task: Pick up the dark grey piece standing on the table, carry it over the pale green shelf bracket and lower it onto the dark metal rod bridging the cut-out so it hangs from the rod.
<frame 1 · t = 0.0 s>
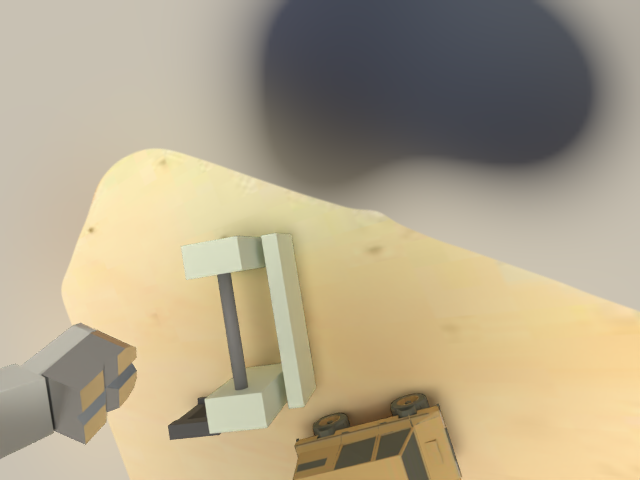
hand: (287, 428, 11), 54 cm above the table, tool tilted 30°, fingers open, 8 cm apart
toy car: (378, 438, 64), on the table
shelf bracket: (260, 316, 67), on the table
dark grey piece: (221, 405, 68), on the table
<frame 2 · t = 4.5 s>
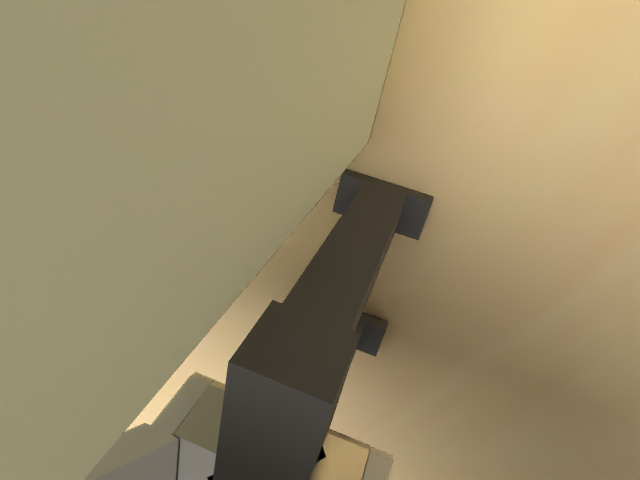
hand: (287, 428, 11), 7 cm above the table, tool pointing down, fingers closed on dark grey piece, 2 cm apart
dark grey piece: (363, 266, 17), on the table, touching gripper
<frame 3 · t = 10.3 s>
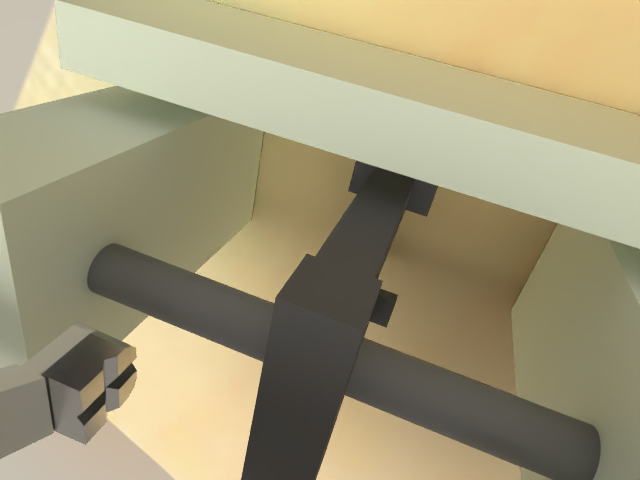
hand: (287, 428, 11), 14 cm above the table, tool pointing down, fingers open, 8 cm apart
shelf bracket: (393, 203, 22), on the table
dark grey piece: (375, 242, 18), point 4 cm above the table, touching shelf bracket
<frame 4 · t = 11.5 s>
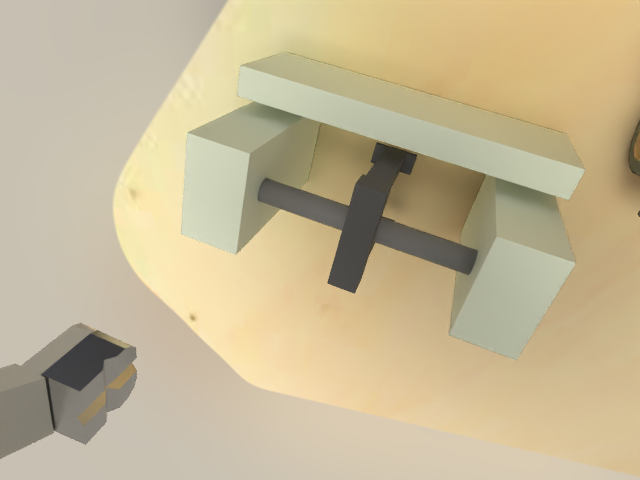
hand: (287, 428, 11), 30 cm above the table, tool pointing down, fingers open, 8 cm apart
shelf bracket: (394, 168, 38), on the table
dark grey piece: (383, 191, 35), point 4 cm above the table, touching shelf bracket
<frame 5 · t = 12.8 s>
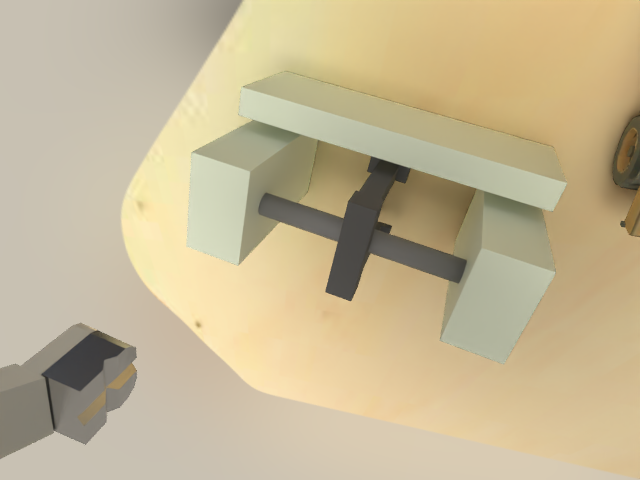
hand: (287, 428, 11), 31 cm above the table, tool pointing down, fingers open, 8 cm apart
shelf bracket: (389, 180, 40), on the table
dark grey piece: (380, 198, 36), point 4 cm above the table, touching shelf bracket
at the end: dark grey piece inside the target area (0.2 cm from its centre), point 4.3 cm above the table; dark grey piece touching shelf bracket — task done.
